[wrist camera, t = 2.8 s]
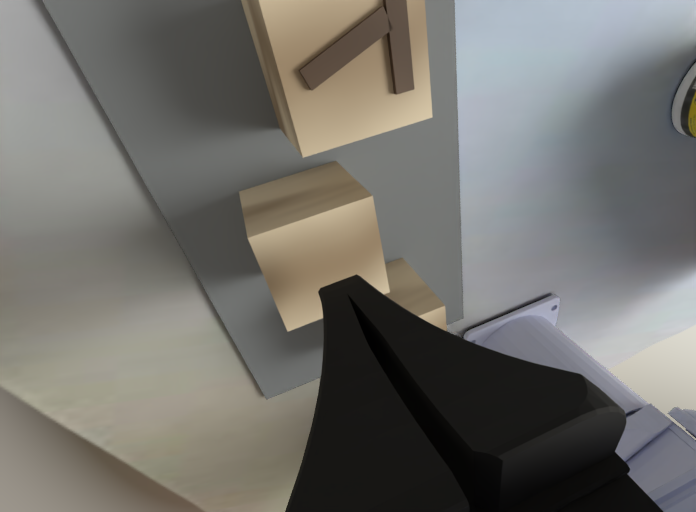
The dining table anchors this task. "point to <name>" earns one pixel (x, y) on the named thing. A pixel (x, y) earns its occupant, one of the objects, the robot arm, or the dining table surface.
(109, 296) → the dining table surface
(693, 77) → the supplement bottle
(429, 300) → the block marked 1
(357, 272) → the blank block
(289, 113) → the block marked 7
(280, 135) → the slate mat
